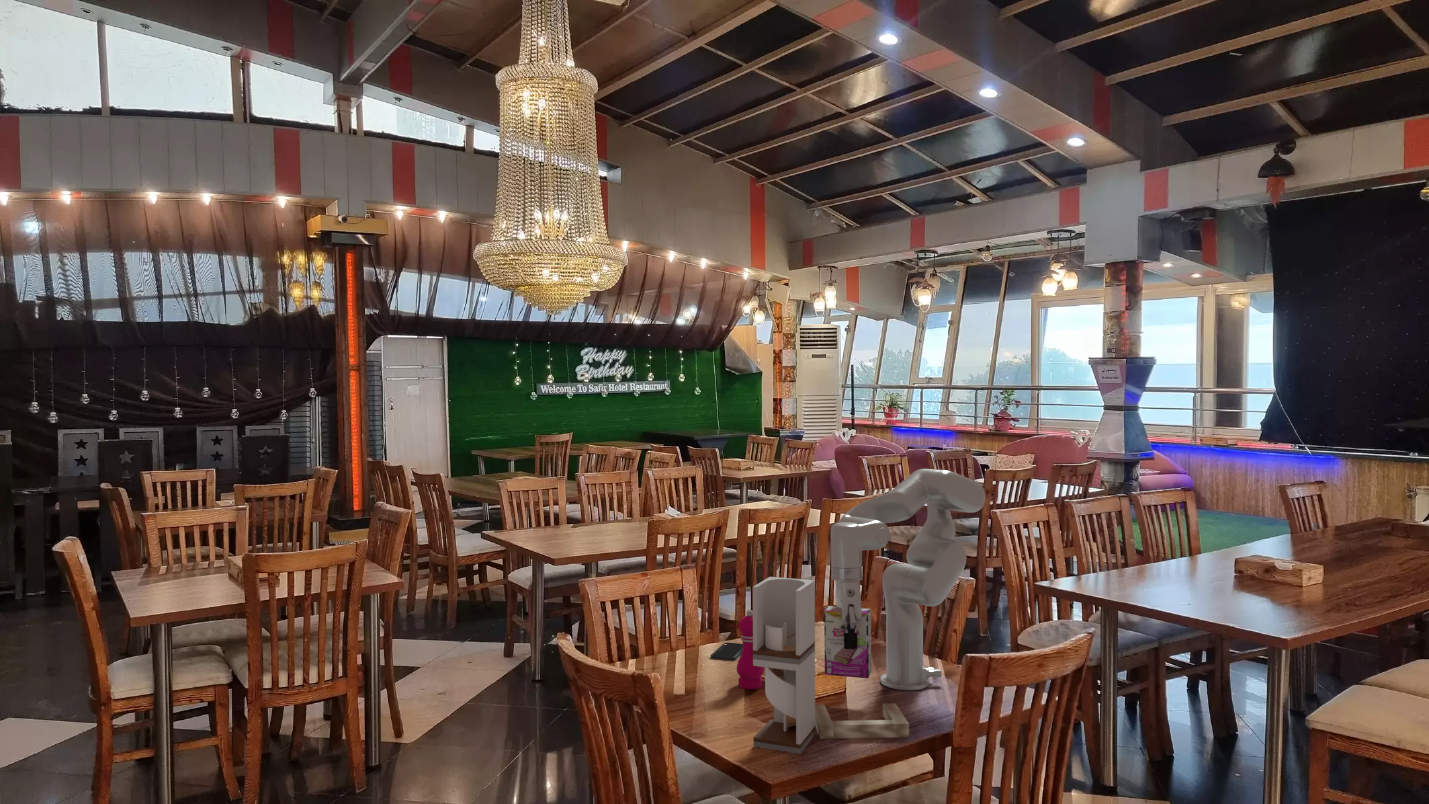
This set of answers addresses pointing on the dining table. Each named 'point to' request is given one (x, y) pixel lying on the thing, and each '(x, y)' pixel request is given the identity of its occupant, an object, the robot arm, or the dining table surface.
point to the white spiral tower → (786, 660)
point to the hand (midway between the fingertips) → (848, 643)
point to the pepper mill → (748, 656)
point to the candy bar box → (835, 653)
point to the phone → (728, 652)
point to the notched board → (862, 725)
